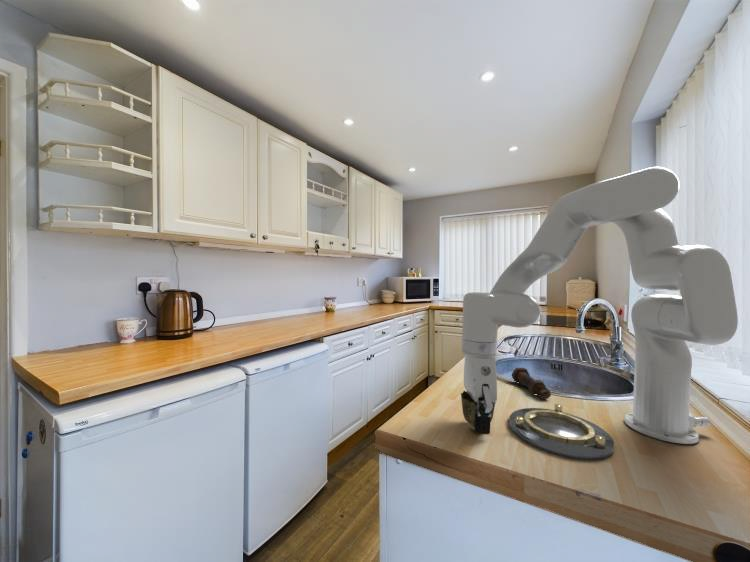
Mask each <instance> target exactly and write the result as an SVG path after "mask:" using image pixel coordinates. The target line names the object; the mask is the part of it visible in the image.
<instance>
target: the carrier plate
mask: <svg viewBox="0 0 750 562" xmlns="http://www.w3.org/2000/svg"><path fill="white" fill-rule="evenodd" d="M508 421H509V422H508V423H509V427H510V430H511V431H512V433H513V434H514V435H515V436H517V438H519V439H521V440H522V441H523V442H525V443H527V444H528V445H530V446H532V447H534V448H535V449H539V450H541V451H544V452H546V453H549V454H552V455H554V456H559V457H563V458H566V459H570V460H571V459H573V460H579V461H600V460H604V459H607V458H609V457H610V456H612V455H613V453H614V450H615V442H614V439H613V437H612V436H611V435H610V434H609V433H608V432H607V431H606V430H605V429H603V428H602V427H600V426H599V425H597V424H595V423H593V422H592V421H589V420H586V419H584V418H582V417H579V416H577V415H574V414H571V413H568V412H564V411H563V405H562V404H558V403H555V404H554V409H549V408H541V407H540V408H539V407H528V408H520V409H517V410H515V411H513V412H511V413H510V415H509V420H508Z"/></svg>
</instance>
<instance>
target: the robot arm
mask: <svg viewBox="0 0 750 562" xmlns="http://www.w3.org/2000/svg"><path fill="white" fill-rule="evenodd" d="M679 191H680V180H679V178H678V177H677V174H676V173H674V171H672V170H670V169H668V168H665V167H663V166H652V167H648V168H647V167H646V168H645V169H641V170H638V171H633V172H631V173H627V174H624V175H621V176H616V177H613V178H609V179H605V180H602V181H601V180H600V181H597V182H595V183H591V184H588V185H586V186H583V187H581V188H578V189H576V190H573V191H571V192H567V193H566V194H564V195H561V197H559V198H558V199H557V201H555V202H554V204H553V205H552V207H551V208H550V210H549V212H548V213H547V215H546V217H545V218H544V220H543V222H542V223H541V225H540V226H539V228H538V230H537V232H536V233H535V235H534V237H533V238H532V239H531V241H530V243H529V244H528V245H527V247H526V248H525V249H524V250H523V251H522V252H521V253H520V254H519V255H518V256H517V257H516V258H515V259H514V260H513V261H512V262H511V263H510V264H509V265H508V266H507V267H506V268H505V270H504V271H503V272H502V273H501V275H500V276H499V278H498V279H497V281H496V282H495V284H494V285H493V287H492V288H491V290H490V292H480V291H479V292H468V293H465V294H464V296H463V301H462V303H463V304H462V331H461V332H462V334H461V335H462V336H461V353H462V354H463V355H465V356H464V365H463V387H464V389H465V391H466V392H467V393H468V394H469V395H470V396H471V398H472V399H473V400H474V401H475V403H476V413H477V414H475V426H474V431H475V432H474V433H475V434H477V435H489V434H491V423H490V418H491V412H492V408H493V405H492V402H493V403H495V404H496V403H497V401H498V376H497V364H496V363H497V362H496V357H497V356H498V351H497V350H498V327H499V326H506V327H510V328H511V327H512V328H522V329H523V328H528V327H529V326H532V325H533V324H535V323H536V322H537V321H538V319H539V318H540V315H541V308H540V305H539V303H538V302H537V300H536V299H534V298H533V297H532V296H531V295H528V294H526V293H525V292H526V291H528V289H529V288H530V287H531V286H532V285H534V283H536V281H538V280H539V279H542V278H544V277H545V276H547V275H550V274H551V273H553V272H555V271H557V270H558V269H560V268H562V267H563V266H564V265H565V264H566V263H567V262H568V261H569V259H570V257H571V256H572V254H573V252H574V250H575V249H576V247H577V246H578V244H579V242H580V241H581V239H582V238H583V236H584V234H585V233H586V231H587V230H588V229H589V228H591V227H595V226H599V225H604V224H608V223H613V224H615V225H616V226H617V227H618V228H619V229H620V230H621V232H622V233H623V235H624V239H625V243H626V246H627V252H628V257H629V264H630V269H631V274H632V278H633V280H634V282H635V284H637V286H640V287H641V288H644V289H647V290H648V289H649V290H657V291H671V292H672V291H673V292H679V294H680V295H676V294H664V293H663V294H661V293H660V294H656V293H655V294H649V295H645V296H643V297H641V298H639V299H638V300H636V301H635V303H634V304H633V306H632V307H631V310H630V311H631V313H630V317H631V323H632V327H633V332H634V340H635V341H634V342H635V345H634V348H635V352H634V354H635V356H634V374H633V375H634V376H633V377H634V378H633V400H632V401H633V402H632V403H633V405H632V412H629V413H626V414H625V415H624V423H625V424H626V425H627V426H628V427H630V428H632V429H633V430H635V431H636V432H638V433H641V434H643V435H645V436H648V437H650V438H654V439H656V440H661V441H664V442H669V443H673V444H680V445H693V444H696V443H698V442H699V441H700V439H699V438H700V436H699V435H700V434H699V433H698V432H697V431H696V430H695V429H694V428H696V427H697V426H700V427H710V426H711V425H712V424H711V423H712V422H711V420H710V418H708V417H705V416H694V415H693V414H691V413H690V411H691V410H690V405H691V389H692V388H691V386H692V385H691V384H692V383H691V382H692V368H693V366H692V365H693V360H692V359H693V358H692V354H691V351H690V348H689V346H688V345H687V342H691V343H694V344H695V343H696V344H701V345H707V346H718V345H721V344H725V343H727V342H729V341H730V340H732V338H734V336H735V334H736V332H737V329H738V324H739V321H738V319H739V317H738V310H737V304H736V298H735V297H736V296H735V291H734V284H733V278H732V273H731V268H730V265H729V263H728V261H727V259H726V257H724V256H723V254H722V253H721V252H719V250H717V249H715V248H713V247H711V246H707V245H701V244H695V245H682V246H681V245H680V244H679V241H678V236H677V233H676V229H675V228H676V227H675V225H674V222H673V220H672V218H671V217H670V216H669V214H668V213H667V212H666V211H665V210H663V209H662V208H664V207H666V206H668V205H670V203H672V202H673V201H674V200H675V198H676V197H677V195H678V193H679ZM478 398H483V400H484V401H480V400H478ZM480 404H484V407H481V409H480Z"/></svg>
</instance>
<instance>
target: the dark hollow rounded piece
mask: <svg viewBox="0 0 750 562" xmlns="http://www.w3.org/2000/svg"><path fill="white" fill-rule="evenodd" d="M460 398H461V408H462V415H463V418H464V420H465V422H467V423H468V428H469V430H470V431H471V432H473V433H475V431H474V426H475V414H477V413H476V403H475V401H474V400H473V399H472V398H471V396H470V395H469V394H468V393H467V391H466V390H463V392H460ZM478 400H480V401H484V400H483V398H478ZM492 405H493V408H492V412H491V418H490V424H491V422H492V421H493V418H494V413H495V405H496V403H493V402H492ZM481 407H484V404H480V409H481Z"/></svg>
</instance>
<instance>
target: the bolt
mask: <svg viewBox="0 0 750 562" xmlns="http://www.w3.org/2000/svg"><path fill="white" fill-rule="evenodd" d="M511 377H512V379H513V381H514V382H515V381H516V382H519V383H522V384H523V385H524V384H525V385H524V386H525V387H526V388H528V390H529V392H530V394H531V393H533V394H537V395H538V396H537V397H540V399H543V400H547V399H549V398H550V397H551V396H552V392H551V390H550V389H548V388H547V385H545V383H544V382H543V380H540V379H534V378H533V377H532V376H531V375H530V373H529V371H528V369H527V368H526V367H515V369H514V370H513V371H512V374H511ZM516 382H515V383H516ZM533 394H532V395H533Z"/></svg>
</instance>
